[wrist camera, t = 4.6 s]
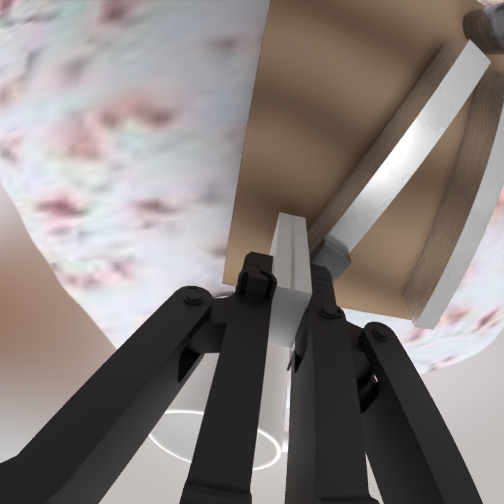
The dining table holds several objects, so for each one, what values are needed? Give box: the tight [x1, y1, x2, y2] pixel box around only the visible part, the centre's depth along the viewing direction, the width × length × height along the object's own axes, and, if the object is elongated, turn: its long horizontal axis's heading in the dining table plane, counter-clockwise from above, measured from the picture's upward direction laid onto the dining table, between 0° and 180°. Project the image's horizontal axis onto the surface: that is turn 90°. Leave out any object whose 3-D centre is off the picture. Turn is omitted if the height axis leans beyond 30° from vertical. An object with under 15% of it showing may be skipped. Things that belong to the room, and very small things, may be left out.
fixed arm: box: [402, 2, 504, 330], centre depth 13 cm, size 19×3×5 cm, turn 170°
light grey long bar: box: [307, 39, 491, 283], centre depth 14 cm, size 16×2×4 cm, turn 149°
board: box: [223, 0, 504, 320], centre depth 16 cm, size 22×16×1 cm
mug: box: [148, 296, 291, 471], centre depth 21 cm, size 12×8×10 cm
